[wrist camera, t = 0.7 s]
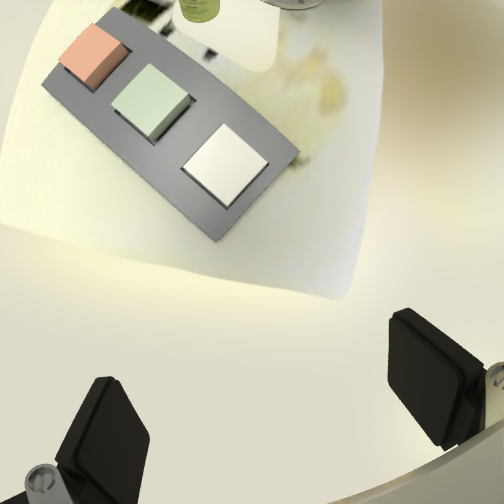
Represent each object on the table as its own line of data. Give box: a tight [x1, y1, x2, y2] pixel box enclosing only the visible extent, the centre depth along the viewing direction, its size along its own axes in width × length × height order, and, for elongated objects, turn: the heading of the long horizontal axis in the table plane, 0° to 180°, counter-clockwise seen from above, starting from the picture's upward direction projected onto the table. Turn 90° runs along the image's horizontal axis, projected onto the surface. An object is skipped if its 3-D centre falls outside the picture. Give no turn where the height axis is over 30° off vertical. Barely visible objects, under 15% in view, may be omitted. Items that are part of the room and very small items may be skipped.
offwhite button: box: [183, 123, 268, 206], centre depth 31 cm, size 6×6×4 cm
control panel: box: [41, 7, 300, 242], centre depth 31 cm, size 14×32×2 cm, turn 47°
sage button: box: [111, 63, 191, 141], centre depth 28 cm, size 6×6×4 cm
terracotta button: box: [58, 23, 129, 90], centre depth 26 cm, size 6×6×4 cm
